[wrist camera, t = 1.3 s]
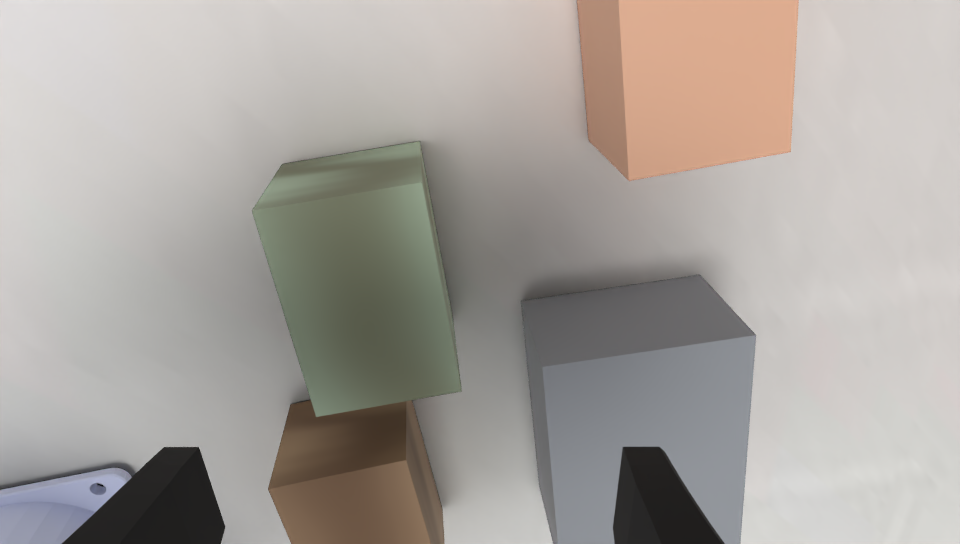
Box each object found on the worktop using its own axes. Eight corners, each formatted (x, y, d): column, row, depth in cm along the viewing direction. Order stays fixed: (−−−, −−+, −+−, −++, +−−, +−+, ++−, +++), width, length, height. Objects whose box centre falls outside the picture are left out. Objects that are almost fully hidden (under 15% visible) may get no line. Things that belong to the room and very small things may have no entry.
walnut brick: (338, 530, 25) (326, 626, 21) (290, 404, 22) (267, 489, 19) (442, 508, 25) (448, 600, 21) (406, 380, 22) (405, 460, 19)
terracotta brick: (588, 140, 20) (629, 181, 16) (569, -88, 17) (612, -101, 13) (720, 117, 20) (790, 151, 16) (722, -114, 17) (805, -135, 13)
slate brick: (539, 485, 25) (560, 572, 22) (520, 300, 22) (542, 366, 18) (693, 461, 25) (740, 543, 22) (699, 274, 22) (756, 335, 18)
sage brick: (332, 341, 22) (316, 416, 18) (281, 163, 19) (251, 210, 15) (453, 320, 22) (461, 391, 18) (419, 141, 19) (421, 182, 15)
